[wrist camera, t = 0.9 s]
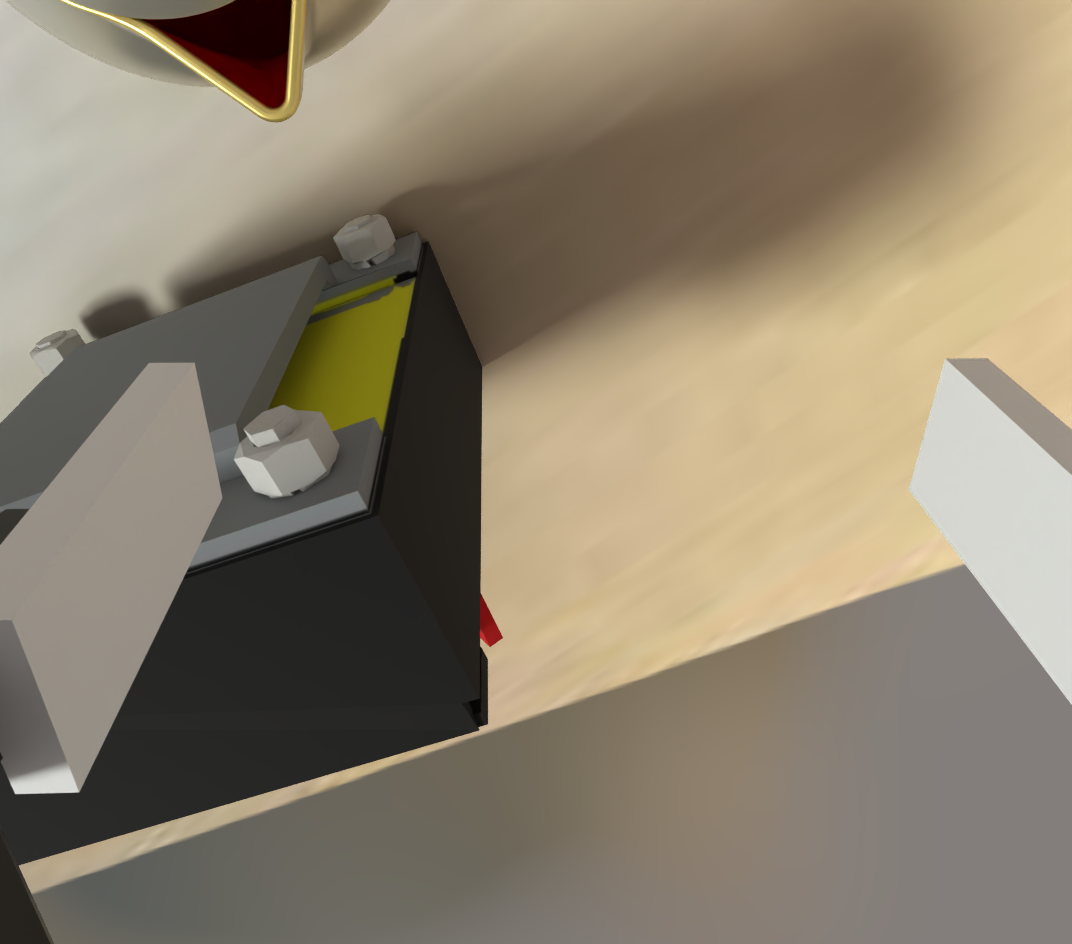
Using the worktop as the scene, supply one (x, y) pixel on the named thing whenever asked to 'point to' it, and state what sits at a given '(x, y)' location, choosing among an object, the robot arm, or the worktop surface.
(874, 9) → the worktop surface
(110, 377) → the electrical component
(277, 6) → the teapot
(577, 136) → the worktop surface
